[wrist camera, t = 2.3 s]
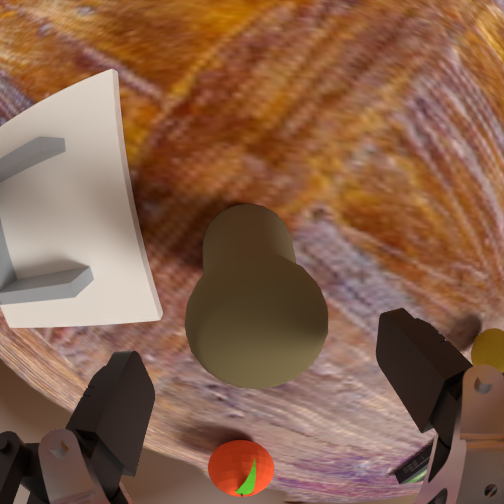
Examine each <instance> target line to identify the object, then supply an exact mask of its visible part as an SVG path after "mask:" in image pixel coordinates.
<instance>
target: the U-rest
mask: <svg viewBox="0 0 504 504" xmlns="http://www.w3.org/2000/svg"><path fill="white" fill-rule="evenodd" d="M0 307H1V309H2V311H3V314H4V316H5V318H6V321H7V323H8V325H9V327H10V328H29V327H68V326H90V325H106V324H121V323H133V322H145V321H156V320H160V319H161V317H162V315H163V311H162V308H161V305H160V301H159V298H158V295H157V291H156V288H155V284H154V281H153V277H152V274H151V270H150V266H149V263H148V259H147V255H146V251H145V247H144V243H143V238H142V234H141V230H140V225H139V221H138V216H137V212H136V207H135V202H134V197H133V192H132V186H131V181H130V175H129V169H128V163H127V156H126V149H125V142H124V134H123V126H122V117H121V107H120V96H119V82H118V72H117V71H115V70H114V69H110V70H107V71H104V72H102V73H99V74H97V75H94V76H92V77H90V78H87V79H85V80H83V81H80V82H78V83H76V84H74V85H72V86H69V87H67V88H65V89H63V90H61V91H59V92H57V93H55V94H53V95H51V96H50V97H48V98H46V99H44V100H42V101H40V102H39V103H37V104H35V105H33V106H32V107H30V108H28V109H27V110H25V111H23V112H22V113H20V114H19V115H17V116H15V117H14V118H12V119H11V120H9V121H8V122H6V123H5V124H3V125H2V126H0Z"/></svg>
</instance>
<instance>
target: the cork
mask: <svg viewBox="0 0 504 504" xmlns="http://www.w3.org/2000/svg"><path fill="white" fill-rule="evenodd" d="M202 254H203V274H204V276H203V277H202V278H201V279H199V281H198V282H197V284H196V286H195V288H194V290H193V292H192V294H191V296H190V298H189V301H188V304H187V308H186V318H185V330H186V335H187V339H188V342H189V345H190V349H191V352H192V353H193V354H194V356H195V357H196V358H197V360H198V361H199V362H200V364H201V365H202V366H203V367H204V368H205V370H206V371H207V372H209V373H210V374H212V375H213V376H214V377H216V378H217V379H219V380H220V381H222V382H225V383H227V384H230V385H233V386H236V387H240V388H250V389H261V388H269V387H275V386H278V385H281V384H283V383H286V382H289V381H291V380H293V379H294V378H296V377H297V376H299V375H300V374H302V373H303V372H305V371H306V370H307V369H308V368H309V367H310V366H311V364H312V363H313V362H314V361H315V359H316V358H317V357H318V355H319V353H320V352H321V349H322V347H323V344H324V342H325V339H326V337H327V334H328V309H327V305H326V302H325V299H324V297H323V294H322V292H321V289H320V287H319V286H318V284H317V283H316V281H315V280H314V279H313V278H312V277H311V276H310V275H309V274H308V273H307V272H306V270H305V269H304V268H303V267H302V266H300V265H298V264H296V259H295V254H294V249H293V245H292V240H291V236H290V233H289V231H288V229H287V227H286V224H285V223H284V222H283V221H282V220H281V218H280V217H279V216H278V215H277V214H276V213H274V212H272V211H271V210H269V209H267V208H265V207H263V206H258V205H253V204H243V205H235V206H232V207H230V208H228V209H226V210H224V211H222V212H220V213H219V214H218V215H217V216H216V217H215V218H214V219H213V220H212V221H211V222H210V224H209V226H208V228H207V230H206V232H205V234H204V239H203V246H202Z"/></svg>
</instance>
